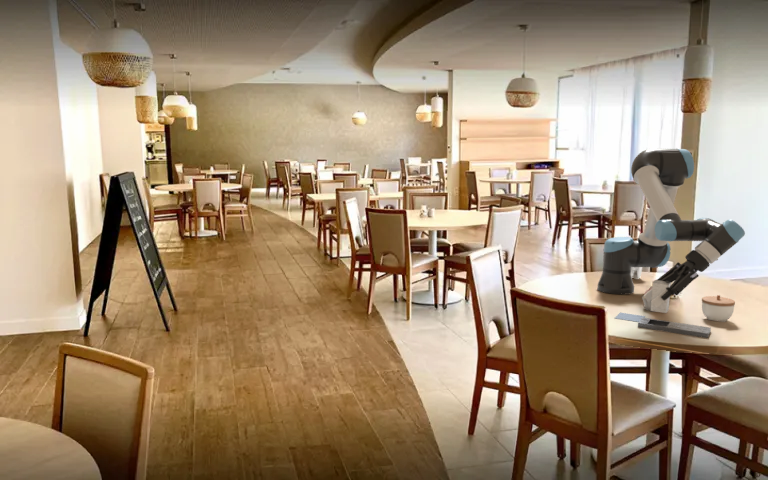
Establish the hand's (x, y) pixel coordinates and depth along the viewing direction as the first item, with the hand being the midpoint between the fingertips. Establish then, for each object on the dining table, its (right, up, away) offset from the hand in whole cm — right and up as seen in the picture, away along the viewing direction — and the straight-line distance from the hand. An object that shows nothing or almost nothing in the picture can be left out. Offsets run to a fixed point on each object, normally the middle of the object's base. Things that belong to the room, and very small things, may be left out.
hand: (650, 301), depth 217 cm
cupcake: (+12, -6, +25) cm, 29 cm away
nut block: (+4, -3, 0) cm, 5 cm away
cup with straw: (+28, +3, +80) cm, 85 cm away
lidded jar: (+30, -8, +12) cm, 33 cm away
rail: (+8, -10, -1) cm, 13 cm away
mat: (-2, -8, +13) cm, 15 cm away
